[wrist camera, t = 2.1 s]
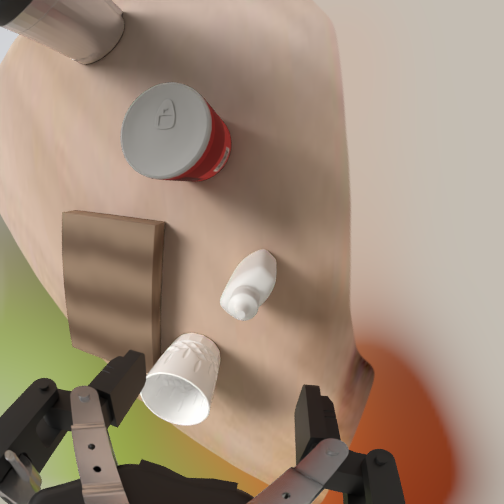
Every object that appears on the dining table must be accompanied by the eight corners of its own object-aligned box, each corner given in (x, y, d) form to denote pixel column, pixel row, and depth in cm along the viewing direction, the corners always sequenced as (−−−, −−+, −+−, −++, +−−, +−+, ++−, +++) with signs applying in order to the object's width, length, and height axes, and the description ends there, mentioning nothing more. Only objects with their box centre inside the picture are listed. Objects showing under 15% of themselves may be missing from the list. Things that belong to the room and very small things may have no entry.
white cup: (158, 339, 36) (126, 382, 26) (204, 319, 34) (180, 364, 25) (189, 382, 37) (168, 430, 27) (236, 366, 36) (224, 417, 26)
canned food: (225, 106, 29) (200, 69, 18) (239, 173, 30) (219, 164, 19) (162, 124, 30) (114, 100, 19) (174, 188, 31) (127, 190, 20)
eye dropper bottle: (282, 282, 32) (284, 332, 21) (235, 292, 33) (214, 345, 22) (272, 245, 32) (270, 279, 20) (224, 257, 32) (196, 295, 21)
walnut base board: (75, 210, 33) (62, 212, 30) (165, 221, 32) (154, 225, 29) (82, 338, 37) (72, 346, 34) (161, 363, 37) (153, 374, 34)
